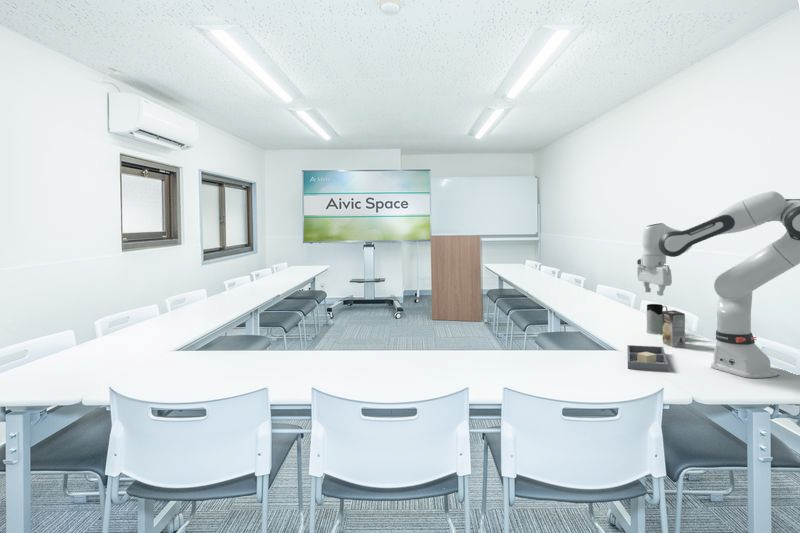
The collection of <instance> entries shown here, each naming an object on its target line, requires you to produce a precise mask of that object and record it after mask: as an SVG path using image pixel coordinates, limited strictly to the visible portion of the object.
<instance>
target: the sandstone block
mask: <svg viewBox="0 0 800 533" xmlns="http://www.w3.org/2000/svg"><path fill="white" fill-rule="evenodd" d="M636 362H650V363H657V362H656V354H653V353H649V352H642V353H637V360H636Z"/></svg>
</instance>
